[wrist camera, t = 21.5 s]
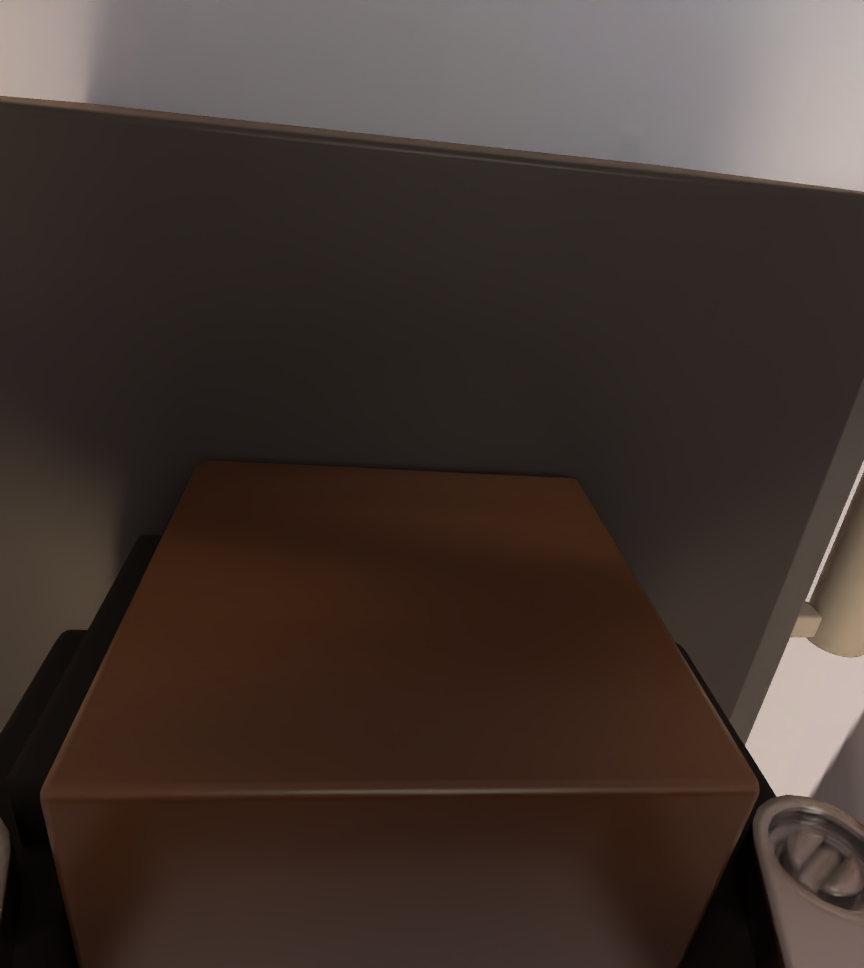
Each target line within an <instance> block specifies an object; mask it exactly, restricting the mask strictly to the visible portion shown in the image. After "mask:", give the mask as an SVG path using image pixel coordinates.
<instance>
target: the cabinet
mask: <svg viewBox="0 0 864 968" xmlns="http://www.w3.org/2000/svg"><path fill="white" fill-rule="evenodd" d="M863 383H864V192H861V191H853V190H845V189H837V188H830V187H822V186H814V185H806V184H799V183H791V182H783V181H775V180H768V179H760V178H752V177H744V176H737V175H729V174H721V173H714V172H706V171H698V170H690V169H683V168H675V167H667V166H659V165H650V164H641V163H631V162H622V161H613V160H604V159H595V158H585V157H576V156H567V155H558V154H549V153H539V152H530V151H521V150H512V149H502V148H493V147H484V146H475V145H466V144H456V143H447V142H438V141H429V140H420V139H410V138H401V137H392V136H383V135H374V134H364V133H355V132H346V131H337V130H327V129H318V128H309V127H300V126H291V125H281V124H272V123H263V122H254V121H245V120H235V119H226V118H217V117H208V116H199V115H189V114H180V113H171V112H162V111H152V110H143V109H134V108H125V107H116V106H106V105H97V104H88V103H77V102H65V101H53V100H41V99H30V98H18V97H7V96H0V733H1V732H2V730H3V728H4V727H5V725H6V723H7V722H8V720H9V718H10V717H11V715H12V713H13V712H14V710H15V708H16V707H17V705H18V703H19V702H20V700H21V698H22V697H23V695H24V693H25V692H26V690H27V688H28V687H29V685H30V683H31V682H32V680H33V678H34V677H35V675H36V673H37V672H38V670H39V668H40V667H41V665H42V663H43V662H44V660H45V658H46V657H47V655H48V653H49V652H50V650H51V648H52V647H53V645H54V643H55V642H56V640H57V639H58V638H59V636H60V635H61V634H62V633H63V632H65V631H67V630H88V628H89V627H90V625H91V623H92V621H93V619H94V617H95V616H96V614H97V612H98V610H99V608H100V606H101V605H102V603H103V601H104V599H105V597H106V596H107V594H108V592H109V590H110V588H111V586H112V585H113V583H114V581H115V579H116V577H117V575H118V574H119V572H120V570H121V568H122V566H123V565H124V563H125V561H126V559H127V557H128V555H129V554H130V552H131V550H132V548H133V546H134V544H135V543H136V541H137V539H138V538H139V536H140V535H142V534H152V535H163V534H164V532H165V530H166V528H167V526H168V524H169V522H170V520H171V517H172V515H173V513H174V511H175V509H176V507H177V505H178V503H179V501H180V499H181V497H182V495H183V493H184V490H185V488H186V486H187V484H188V482H189V480H190V478H191V476H192V474H193V472H194V470H195V468H196V465H197V463H198V462H199V461H203V460H211V461H232V462H252V463H273V464H293V465H314V466H335V467H355V468H376V469H396V470H417V471H437V472H458V473H479V474H499V475H520V476H540V477H561V478H573V479H575V480H577V481H578V482H579V484H580V486H581V487H582V489H583V491H584V492H585V494H586V496H587V497H588V499H589V501H590V502H591V504H592V506H593V507H594V509H595V511H596V512H597V514H598V516H599V517H600V519H601V521H602V522H603V524H604V525H605V527H606V529H607V530H608V532H609V534H610V535H611V537H612V539H613V540H614V542H615V544H616V545H617V547H618V549H619V550H620V552H621V554H622V555H623V557H624V559H625V560H626V562H627V564H628V565H629V567H630V569H631V570H632V572H633V573H634V575H635V577H636V578H637V580H638V582H639V583H640V585H641V587H642V588H643V590H644V592H645V593H646V595H647V596H648V598H649V600H650V601H651V603H652V605H653V606H654V608H655V610H656V611H657V613H658V614H659V616H660V618H661V619H662V621H663V623H664V624H665V626H666V628H667V629H668V631H669V632H670V634H671V636H672V637H673V639H674V641H675V642H676V643H678V644H680V645H681V646H682V647H683V648H684V650H685V651H686V652H687V653H688V655H689V657H690V658H691V660H692V661H693V663H694V665H695V666H696V668H697V670H698V671H699V673H700V674H701V676H702V678H703V679H704V681H705V682H706V684H707V686H708V687H709V689H710V691H711V692H712V694H713V695H714V697H715V699H716V700H717V702H718V703H719V705H720V707H721V708H722V710H723V711H724V713H725V715H726V716H727V718H728V720H729V721H730V720H731V718H732V715H733V712H734V710H735V707H736V705H737V702H738V700H739V697H740V695H741V692H742V690H743V687H744V685H745V682H746V680H747V677H748V674H749V672H750V669H751V667H752V664H753V662H754V659H755V657H756V654H757V652H758V649H759V647H760V644H761V641H762V639H763V636H764V634H765V631H766V629H767V626H768V624H769V621H770V619H771V616H772V614H773V611H774V609H775V606H776V603H777V601H778V598H779V596H780V593H781V591H782V588H783V586H784V583H785V581H786V578H787V576H788V573H789V570H790V568H791V565H792V563H793V560H794V558H795V555H796V553H797V550H798V548H799V545H800V543H801V540H802V537H803V535H804V532H805V530H806V527H807V525H808V522H809V520H810V517H811V515H812V512H813V510H814V507H815V505H816V502H817V499H818V497H819V494H820V492H821V489H822V487H823V484H824V482H825V479H826V477H827V474H828V472H829V469H830V466H831V464H832V461H833V459H834V456H835V454H836V451H837V449H838V446H839V444H840V441H841V439H842V436H843V434H844V431H845V428H846V426H847V423H848V421H849V418H850V416H851V413H852V411H853V408H854V406H855V403H856V401H857V398H858V395H859V393H860V390H861V388H862V385H863Z"/></svg>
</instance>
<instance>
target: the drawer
mask: <svg viewBox="0 0 864 968" xmlns="http://www.w3.org/2000/svg"><path fill="white" fill-rule="evenodd" d="M863 460H864V383H863V385H862V388H861V390H860V393H859V395H858V398H857V401H856V403H855V406H854V408H853V411H852V413H851V416H850V418H849V421H848V423H847V426H846V428H845V431H844V434H843V436H842V439H841V441H840V444H839V446H838V449H837V451H836V454H835V456H834V459H833V461H832V464H831V466H830V469H829V472H828V474H827V477H826V479H825V482H824V484H823V487H822V489H821V492H820V494H819V497H818V499H817V502H816V505H815V507H814V510H813V512H812V515H811V517H810V520H809V522H808V525H807V527H806V530H805V532H804V535H803V537H802V540H801V543H800V545H799V548H798V550H797V553H796V555H795V558H794V560H793V563H792V565H791V568H790V570H789V573H788V576H787V578H786V581H785V583H784V586H783V588H782V591H781V593H780V596H779V598H778V601H777V603H776V606H775V609H774V611H773V614H772V616H771V619H770V621H769V624H768V626H767V629H766V631H765V634H764V636H763V639H762V641H761V644H760V647H759V649H758V652H757V654H756V657H755V659H754V662H753V664H752V667H751V669H750V672H749V674H748V677H747V680H746V682H745V685H744V687H743V690H742V692H741V695H740V697H739V700H738V702H737V705H736V707H735V710H734V712H733V715H732V718H731V720H730V723H731V724H732V726H733V728H734V729H735V731H736V732H737V734H738V736H739V737H740V739H741V741H742V742H743V744H744V745H745V744H746V741H747V739H748V736H749V734H750V732H751V729H752V727H753V724H754V722H755V720H756V717H757V715H758V712H759V710H760V708H761V705H762V703H763V700H764V698H765V696H766V693H767V691H768V688H769V686H770V684H771V681H772V679H773V676H774V674H775V672H776V669H777V667H778V664H779V662H780V660H781V657H782V655H783V652H784V650H785V648H786V645H787V643H788V640H789V638H790V637H806V638H807V639H808V640H809V641H810V642H812V643H813V644H814V645H816V646H817V647H819V648H821V649H823V650H825V651H827V652H830V653H832V654H835V655H839V656H843V657H859V656H861V655H863V654H864V473H863V475H862V477H861V480H860V482H859V485H858V487H857V489H856V492H855V494H854V496H853V499H852V501H851V504H850V506H849V508H848V511H847V513H846V515H845V518H844V520H843V523H842V525H841V527H840V530H839V532H838V535H837V537H836V539H835V542H834V544H833V546H832V549H831V551H830V554H829V556H828V558H827V561H826V563H825V566H824V568H823V570H822V573H821V575H820V577H819V580H818V582H817V585H816V587H815V589H814V592H813V594H812V596H811V599H810V601H809V603H808V602H805V599H806V597H807V595H808V592H809V590H810V587H811V585H812V583H813V580H814V578H815V575H816V573H817V571H818V568H819V566H820V563H821V561H822V559H823V556H824V554H825V551H826V549H827V547H828V544H829V542H830V539H831V537H832V535H833V532H834V530H835V527H836V525H837V523H838V520H839V518H840V515H841V513H842V511H843V508H844V506H845V503H846V501H847V499H848V496H849V494H850V491H851V489H852V487H853V484H854V482H855V479H856V477H857V474H858V472H859V470H860V467H861V465H862V462H863Z"/></svg>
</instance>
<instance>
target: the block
mask: <svg viewBox="0 0 864 968" xmlns="http://www.w3.org/2000/svg"><path fill="white" fill-rule="evenodd" d="M758 796H759V783H758V779H757V778H756V776H755V774H754V773H753V771H752V769H751V768H750V766H749V764H748V763H747V761H746V759H745V758H744V756H743V755H742V753H741V751H740V750H739V748H738V746H737V745H736V743H735V741H734V740H733V738H732V736H731V735H730V733H729V731H728V730H727V728H726V726H725V725H724V723H723V721H722V720H721V718H720V716H719V715H718V713H717V711H716V710H715V708H714V706H713V705H712V703H711V701H710V700H709V698H708V696H707V695H706V693H705V691H704V690H703V688H702V686H701V685H700V683H699V681H698V680H697V678H696V677H695V675H694V673H693V672H692V670H691V668H690V667H689V665H688V663H687V662H686V660H685V658H684V657H683V655H682V653H681V652H680V650H679V648H678V647H677V645H676V643H675V642H674V640H673V638H672V637H671V635H670V633H669V632H668V630H667V628H666V627H665V625H664V623H663V622H662V620H661V618H660V617H659V615H658V613H657V612H656V610H655V608H654V607H653V605H652V603H651V602H650V600H649V599H648V597H647V595H646V594H645V592H644V590H643V589H642V587H641V585H640V584H639V582H638V580H637V579H636V577H635V575H634V574H633V572H632V570H631V569H630V567H629V565H628V564H627V562H626V560H625V559H624V557H623V555H622V554H621V552H620V550H619V549H618V547H617V545H616V544H615V542H614V540H613V539H612V537H611V535H610V534H609V532H608V530H607V529H606V527H605V525H604V524H603V522H602V521H601V519H600V517H599V516H598V514H597V512H596V511H595V509H594V507H593V506H592V504H591V502H590V501H589V499H588V497H587V496H586V494H585V492H584V491H583V489H582V487H581V486H580V484H579V482H578V481H577V480H575V479H573V478H561V477H540V476H520V475H499V474H479V473H458V472H437V471H417V470H396V469H376V468H355V467H335V466H314V465H293V464H273V463H252V462H232V461H211V460H203V461H199V462H198V463H197V465H196V468H195V470H194V472H193V474H192V476H191V478H190V480H189V482H188V484H187V486H186V488H185V490H184V493H183V495H182V497H181V499H180V501H179V503H178V505H177V507H176V509H175V511H174V513H173V515H172V517H171V520H170V522H169V524H168V526H167V528H166V530H165V532H164V534H163V536H162V538H161V540H160V542H159V545H158V547H157V549H156V551H155V553H154V555H153V557H152V559H151V561H150V563H149V565H148V567H147V570H146V572H145V574H144V576H143V578H142V580H141V582H140V584H139V586H138V588H137V590H136V592H135V595H134V597H133V599H132V601H131V603H130V605H129V607H128V609H127V611H126V613H125V615H124V617H123V620H122V622H121V624H120V626H119V628H118V630H117V632H116V634H115V636H114V638H113V640H112V642H111V645H110V647H109V649H108V651H107V653H106V655H105V657H104V659H103V661H102V663H101V665H100V667H99V669H98V672H97V674H96V676H95V678H94V680H93V682H92V684H91V686H90V688H89V690H88V692H87V694H86V697H85V699H84V701H83V703H82V705H81V707H80V709H79V711H78V713H77V715H76V717H75V719H74V722H73V724H72V726H71V728H70V730H69V732H68V734H67V736H66V738H65V740H64V742H63V744H62V747H61V749H60V751H59V753H58V755H57V757H56V759H55V761H54V763H53V765H52V767H51V769H50V772H49V774H48V776H47V778H46V780H45V782H44V784H43V786H42V789H41V791H40V802H41V806H42V811H43V815H44V819H45V824H46V828H47V832H48V837H49V841H50V845H51V849H52V854H53V858H54V862H55V867H56V871H57V875H58V880H59V884H60V888H61V893H62V897H63V901H64V905H65V910H66V914H67V918H68V923H69V927H70V931H71V936H72V940H73V944H74V948H75V953H76V957H77V961H78V966H79V968H680V967H681V964H682V962H683V960H684V958H685V956H686V954H687V951H688V949H689V947H690V945H691V943H692V940H693V938H694V936H695V934H696V932H697V929H698V927H699V925H700V923H701V921H702V918H703V916H704V914H705V912H706V910H707V907H708V905H709V903H710V901H711V899H712V896H713V894H714V892H715V890H716V888H717V885H718V883H719V881H720V879H721V877H722V875H723V872H724V870H725V868H726V866H727V864H728V861H729V859H730V857H731V855H732V853H733V850H734V848H735V846H736V844H737V842H738V839H739V837H740V835H741V833H742V831H743V828H744V826H745V824H746V822H747V820H748V817H749V815H750V813H751V811H752V809H753V807H754V804H755V802H756V800H757V798H758Z"/></svg>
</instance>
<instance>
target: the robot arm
mask: <svg viewBox="0 0 864 968" xmlns="http://www.w3.org/2000/svg"><path fill="white" fill-rule="evenodd" d="M162 536H163V535H152V534H142V535H140V536H139V538H138V539H137V541H136V543H135V544H134V546H133V548H132V550H131V552H130V554H129V555H128V557H127V559H126V561H125V563H124V565H123V566H122V568H121V570H120V572H119V574H118V575H117V577H116V579H115V581H114V583H113V585H112V586H111V588H110V590H109V592H108V594H107V596H106V597H105V599H104V601H103V603H102V605H101V606H100V608H99V610H98V612H97V614H96V616H95V617H94V619H93V621H92V623H91V625H90V627H89V628H88V630H67V631H65V632H63V633H62V634H61V635H60V636H59V638H58V639H57V640H56V642H55V643H54V645H53V647H52V648H51V650H50V652H49V653H48V655H47V657H46V658H45V660H44V662H43V663H42V665H41V667H40V668H39V670H38V672H37V673H36V675H35V677H34V678H33V680H32V682H31V683H30V685H29V687H28V688H27V690H26V692H25V693H24V695H23V697H22V698H21V700H20V702H19V703H18V705H17V707H16V708H15V710H14V712H13V713H12V715H11V717H10V718H9V720H8V722H7V723H6V725H5V727H4V728H3V730H2V732H1V733H0V968H79V966H78V961H77V957H76V953H75V948H74V944H73V940H72V936H71V931H70V927H69V923H68V918H67V914H66V910H65V905H64V901H63V897H62V893H61V888H60V884H59V880H58V875H57V871H56V867H55V862H54V858H53V854H52V849H51V845H50V841H49V837H48V832H47V828H46V824H45V819H44V815H43V811H42V806H41V802H40V791H41V789H42V786H43V784H44V782H45V780H46V778H47V776H48V774H49V772H50V769H51V767H52V765H53V763H54V761H55V759H56V757H57V755H58V753H59V751H60V749H61V747H62V744H63V742H64V740H65V738H66V736H67V734H68V732H69V730H70V728H71V726H72V724H73V722H74V719H75V717H76V715H77V713H78V711H79V709H80V707H81V705H82V703H83V701H84V699H85V697H86V694H87V692H88V690H89V688H90V686H91V684H92V682H93V680H94V678H95V676H96V674H97V672H98V669H99V667H100V665H101V663H102V661H103V659H104V657H105V655H106V653H107V651H108V649H109V647H110V645H111V642H112V640H113V638H114V636H115V634H116V632H117V630H118V628H119V626H120V624H121V622H122V620H123V617H124V615H125V613H126V611H127V609H128V607H129V605H130V603H131V601H132V599H133V597H134V595H135V592H136V590H137V588H138V586H139V584H140V582H141V580H142V578H143V576H144V574H145V572H146V570H147V567H148V565H149V563H150V561H151V559H152V557H153V555H154V553H155V551H156V549H157V547H158V545H159V542H160V540H161V538H162ZM633 574H634V573H633ZM636 579H637V578H636ZM639 584H640V583H639ZM642 589H643V588H642ZM645 594H646V593H645ZM647 597H648V596H647ZM648 599H649V598H648ZM650 602H651V601H650ZM653 607H654V606H653ZM656 612H657V611H656ZM658 615H659V614H658ZM659 617H660V616H659ZM661 620H662V619H661ZM662 622H663V621H662ZM664 625H665V624H664ZM665 627H666V626H665ZM667 630H668V629H667ZM668 632H669V631H668ZM669 633H670V632H669ZM670 635H671V634H670ZM671 637H672V636H671ZM672 638H673V637H672ZM673 640H674V639H673ZM674 642H675V641H674ZM675 643H676V642H675ZM676 645H677V647H678V648H679V650H680V652H681V653H682V655H683V657H684V658H685V660H686V662H687V663H688V665H689V667H690V668H691V670H692V672H693V673H694V675H695V677H696V678H697V680H698V681H699V683H700V685H701V686H702V688H703V690H704V691H705V693H706V695H707V696H708V698H709V700H710V701H711V703H712V705H713V706H714V708H715V710H716V711H717V713H718V715H719V716H720V718H721V720H722V721H723V723H724V725H725V726H726V728H727V730H728V731H729V733H730V735H731V736H732V738H733V740H734V741H735V743H736V745H737V746H738V748H739V750H740V751H741V753H742V755H743V756H744V758H745V759H746V761H747V763H748V764H749V766H750V768H751V769H752V771H753V773H754V774H755V776H756V778H757V779H758V783H759V796H758V798H757V800H756V802H755V804H754V807H753V809H752V811H751V813H750V815H749V817H748V820H747V822H746V824H745V826H744V828H743V831H742V833H741V835H740V837H739V839H738V842H737V844H736V846H735V848H734V850H733V853H732V855H731V857H730V859H729V861H728V864H727V866H726V868H725V870H724V872H723V875H722V877H721V879H720V881H719V883H718V885H717V888H716V890H715V892H714V894H713V896H712V899H711V901H710V903H709V905H708V907H707V910H706V912H705V914H704V916H703V918H702V921H701V923H700V925H699V927H698V929H697V932H696V934H695V936H694V938H693V940H692V943H691V945H690V947H689V949H688V951H687V954H686V956H685V958H684V960H683V962H682V964H681V967H680V968H864V825H863V824H861V823H860V822H859V821H857V820H856V819H855V818H853V817H852V816H850V815H848V814H847V813H845V812H843V811H841V810H839V809H837V808H835V807H833V806H832V805H830V804H827V803H824V802H821V801H818V800H815V799H812V798H809V797H803V796H793V795H784V796H779V797H776V795H775V794H774V792H773V790H772V789H771V787H770V786H769V784H768V782H767V781H766V779H765V778H764V776H763V774H762V773H761V771H760V770H759V768H758V766H757V765H756V763H755V761H754V760H753V758H752V757H751V755H750V753H749V752H748V750H747V749H746V747H745V745H744V744H743V742H742V741H741V739H740V737H739V736H738V734H737V732H736V731H735V729H734V728H733V726H732V724H731V723H730V721H729V720H728V718H727V716H726V715H725V713H724V711H723V710H722V708H721V707H720V705H719V703H718V702H717V700H716V699H715V697H714V695H713V694H712V692H711V691H710V689H709V687H708V686H707V684H706V682H705V681H704V679H703V678H702V676H701V674H700V673H699V671H698V670H697V668H696V666H695V665H694V663H693V661H692V660H691V658H690V657H689V655H688V653H687V652H686V651H685V650H684V648H683V647H682V646H681V645H680V644H678V643H676Z"/></svg>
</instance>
